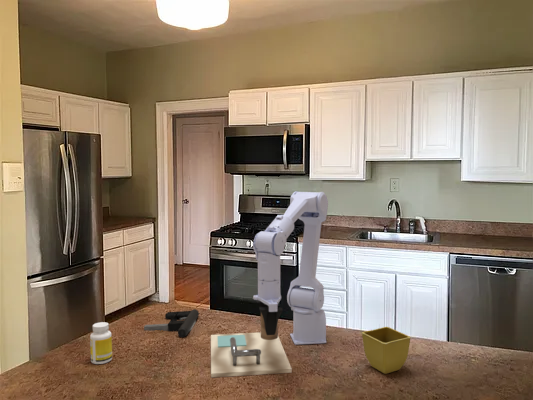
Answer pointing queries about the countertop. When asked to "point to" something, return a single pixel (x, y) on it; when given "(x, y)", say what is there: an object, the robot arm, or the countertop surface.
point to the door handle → (177, 322)
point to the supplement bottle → (101, 343)
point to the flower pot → (386, 348)
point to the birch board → (249, 357)
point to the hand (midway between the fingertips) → (269, 331)
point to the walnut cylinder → (263, 332)
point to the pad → (225, 340)
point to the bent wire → (243, 352)
